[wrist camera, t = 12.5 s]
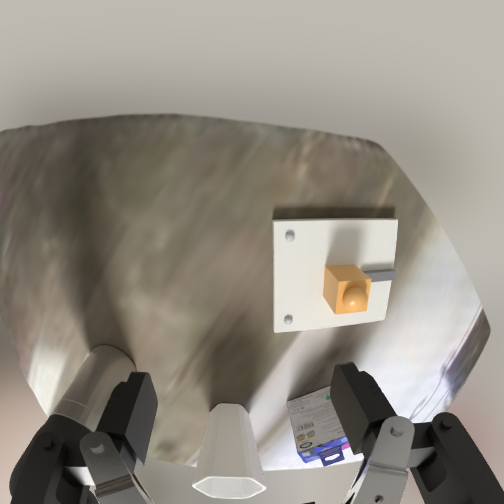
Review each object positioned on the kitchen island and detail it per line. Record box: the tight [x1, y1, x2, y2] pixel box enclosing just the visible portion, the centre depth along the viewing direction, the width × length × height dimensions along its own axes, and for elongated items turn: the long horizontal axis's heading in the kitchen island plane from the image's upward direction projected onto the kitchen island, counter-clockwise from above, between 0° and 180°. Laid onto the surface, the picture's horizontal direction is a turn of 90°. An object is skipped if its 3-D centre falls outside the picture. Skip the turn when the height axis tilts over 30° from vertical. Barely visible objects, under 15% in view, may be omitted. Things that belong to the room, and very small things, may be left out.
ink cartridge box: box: [287, 385, 350, 466], centre depth 38 cm, size 10×6×14 cm, turn 113°
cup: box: [192, 403, 267, 499], centre depth 37 cm, size 11×10×17 cm
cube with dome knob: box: [323, 265, 371, 315], centre depth 33 cm, size 4×4×6 cm
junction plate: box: [272, 218, 398, 333], centre depth 35 cm, size 16×18×6 cm
